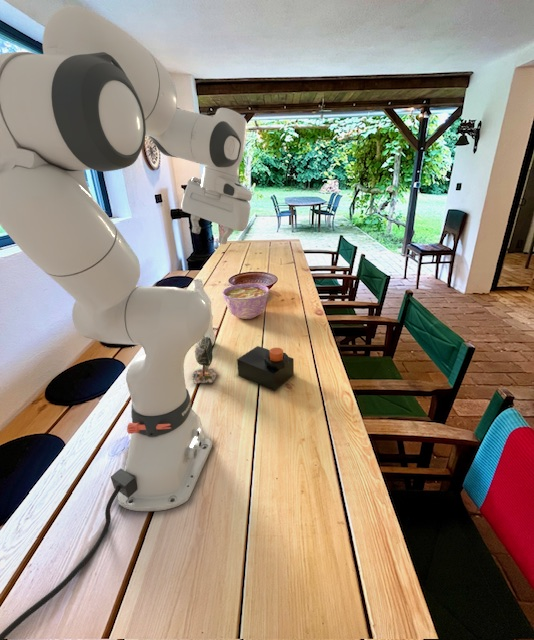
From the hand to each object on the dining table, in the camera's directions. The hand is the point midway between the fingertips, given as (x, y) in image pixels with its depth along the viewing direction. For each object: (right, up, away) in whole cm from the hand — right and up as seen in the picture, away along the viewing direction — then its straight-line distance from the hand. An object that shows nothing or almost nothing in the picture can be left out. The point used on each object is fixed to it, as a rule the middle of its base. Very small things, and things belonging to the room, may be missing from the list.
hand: (208, 238), depth 87 cm
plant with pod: (-4, -40, +14) cm, 42 cm away
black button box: (+15, -39, +13) cm, 44 cm away
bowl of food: (+7, -20, +56) cm, 60 cm away
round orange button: (+19, -33, +7) cm, 39 cm away
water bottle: (-7, -31, +32) cm, 46 cm away
